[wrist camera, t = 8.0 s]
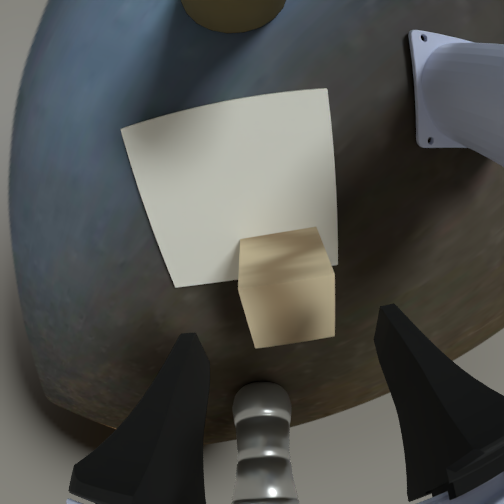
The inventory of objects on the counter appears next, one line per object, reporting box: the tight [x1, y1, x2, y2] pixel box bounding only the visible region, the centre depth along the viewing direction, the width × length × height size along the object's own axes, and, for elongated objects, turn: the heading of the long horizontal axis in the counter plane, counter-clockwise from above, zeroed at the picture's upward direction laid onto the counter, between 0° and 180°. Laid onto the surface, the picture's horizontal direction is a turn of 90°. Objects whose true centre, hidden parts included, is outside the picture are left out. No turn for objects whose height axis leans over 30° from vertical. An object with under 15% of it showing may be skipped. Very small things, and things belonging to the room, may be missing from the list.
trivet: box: [121, 88, 338, 288], centre depth 18 cm, size 12×12×1 cm
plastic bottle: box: [231, 382, 299, 504], centre depth 23 cm, size 6×7×20 cm
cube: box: [238, 227, 335, 348], centre depth 18 cm, size 5×5×5 cm
